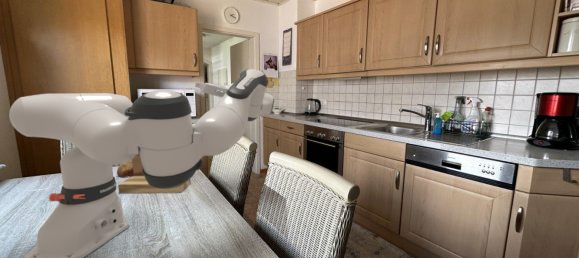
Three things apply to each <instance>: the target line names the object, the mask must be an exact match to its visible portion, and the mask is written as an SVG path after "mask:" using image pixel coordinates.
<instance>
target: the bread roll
mask: <svg viewBox="0 0 579 258" xmlns="http://www.w3.org/2000/svg"><path fill="white" fill-rule="evenodd" d="M116 173H117V174H116V175H117V176H118V177H119V178H130V177H132V176H134V172H133V161H131V160H130V161H128V162H126V163H123V164H119V167H118V168H117V170H116Z"/></svg>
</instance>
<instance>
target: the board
mask: <svg viewBox="0 0 579 258" xmlns="http://www.w3.org/2000/svg"><path fill="white" fill-rule="evenodd" d="M190 184H191V178H190V179H189V180H188V181H187V182H185V183H184V184H183V185H181V186H178V187H175V188H171V189H159V188H156V187H152V186H150V185H149V184H148V182H147V181H146V179H145V177H144V176H131V177H128V178H127V179H126V180H123V181H121V182H120V183H118V184H117V186H118V193H119V194H159V193H161V194H162V193H163V194H165V193H166V194H167V193H169V194H170V193H171V194H173V193H176V194H178V193H182V192H184V191H185V189H186V188H187V187H188V186H189V185H190Z"/></svg>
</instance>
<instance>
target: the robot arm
mask: <svg viewBox="0 0 579 258" xmlns="http://www.w3.org/2000/svg"><path fill="white" fill-rule="evenodd" d="M268 84H269V79H268V77H267V75H266V74H265V72H263V71H261V70H258V69H255V68H247V69H245V70H243V71H242V72H241V73H240V74H239V78H238V79H237V80H236V81H234V82H232V83H231V84H227V85H219V84H215V83H209V82H205V83H201V82H195V85H194V86H195V88H198V89H201V90H202V92H203V93H204V94H208V95H211V96H215V97H218V98H221V99H220V100H219V101H218V102H217V103H216V104H215V105H214V106H213V107H211V109H209V110H207V112H205V113H204V114H203V115H202V116H201V117H200V118H198V120H197V121H196V122H194V123H193V120H192V115H191V113H193V112H192V107H191V104H190V101H189V98H188V97H187V96H186V95H184V94H183V93H181V92H177V91H174V90H170V89H156V90H152V91H150V92H146V93H143V94H141V95H140V96H139V97H137V99H135V100H134V102H132V101H131V99H130V98H128V97H127V96H125V95H122V94H116V93H109V92H83V93H81V92H80V93H78V92H77V93H75V92H74V93H40V94H33V95H26V96H21V97H18V98H17V99H16V100H15V101H14V102H13V103H12V104H11V106H10V109H9V114H8V117H9V122H10V123H11V125H12V127H13V128H14V129H15V130H16V131H17V132H18V133H20V134H21V135H23V136H25V137H27V138H28V137H30V138H45V139H54V140H58V141H64V142H68V143H72V144H74V145H75V147H73V148H71V149H69V150H68V151H66V152H65V153H64V154H63V155H62V156H61V158H60V161H59V165H60V172H61V178H62V186H61V190H60V192H58V193H53V192H52V193H50V194H49V196H48V200H49V201H50V202H58V205H57V206H56V207H55V209H53V211H52V212H51V214H50V215H49V216H48V218H47V219H46V220H45V222H44V223H43V224H42V225H41V227H40V228H39V229H38V232H37V237H36V241H37V242H36V243H37V244H36V246H34V247H33V248H32V249H31V250H30V251H28V252H27V253H26V254H25V255H24V258H85V257H86V256H89V255H90V254H92V252H94V251H95V250H97V249H98V248H100V247H101V246H103V245H104V244H106V243H107V242H109V241H111V240H112V239H113V238H115V237H116V236H117V235H119V234H120V233H122V232H123V231H125V230H127V229H128V228H129V227H130V224H129V222H128V221H127V220H126V218H125V214H124V209H123V205H122V201H121V199H120V197H119V196H118V194H117V192H116V190H117V181H116V178H115V176H114V172H113V166H117V165H119V166H120V165H122V164H123V163H126V162H128V161H130V162H131V161H132V159H133V158H134V157H135V156H136V155H137V154H139V153H140V158H141V162H142V165H143V170H142V171H143V174H144V177H145V179H146V181H147V182H148V184H149V185H150V186H152V187H156V188H159V189H171V188H175V187H178V186H181V185H183V184H184V183H185V182H187V181H188V180H189V179H190V180H191V178H193V177H194V175H196V171H199V170H201V168H202V167H203V164H204V163H203V161H202V158H204V157H206V156H211V157H212V156H218V155H221V154H223V153H225V152H227V151H229V150H230V149H232V148H233V147H234V146H235V145H236V144H237V143H238V142H239V141H240V140H241V139H242V137H243V135H244V134H245V132H246V129H247V126H248V122H253V121H256V120H257V119H258V118H259V117H260V116H261V115H270V114H271V113H273V112H272V111H273V108H274V103H275V98H274V95H272V94H270V93H267V92H266V90H267V88H268Z"/></svg>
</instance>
